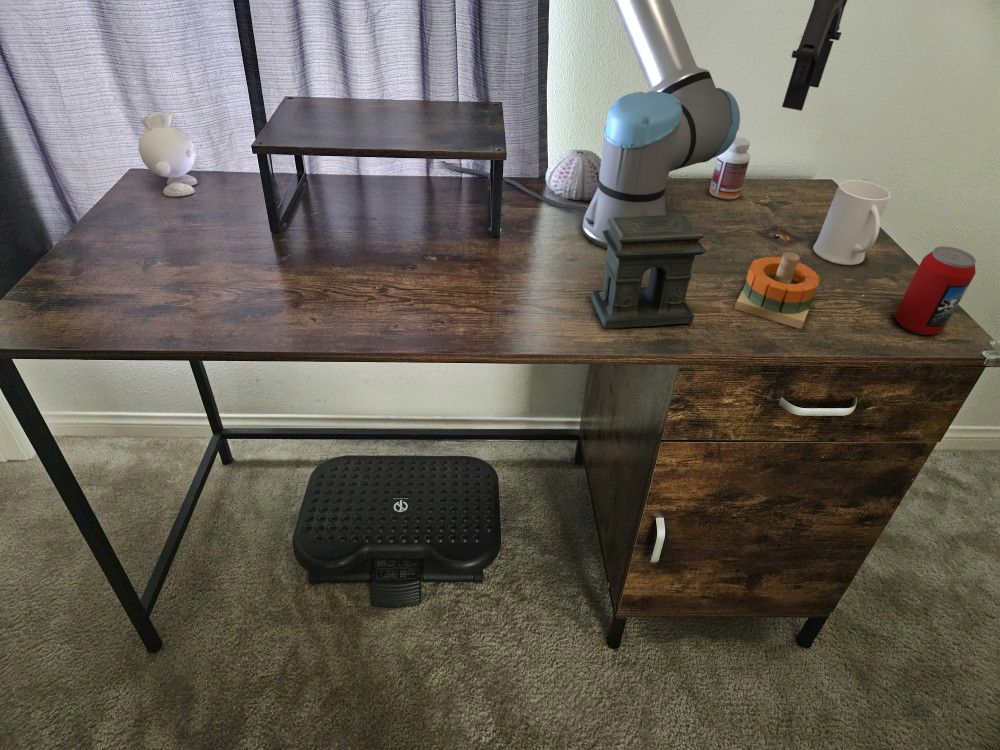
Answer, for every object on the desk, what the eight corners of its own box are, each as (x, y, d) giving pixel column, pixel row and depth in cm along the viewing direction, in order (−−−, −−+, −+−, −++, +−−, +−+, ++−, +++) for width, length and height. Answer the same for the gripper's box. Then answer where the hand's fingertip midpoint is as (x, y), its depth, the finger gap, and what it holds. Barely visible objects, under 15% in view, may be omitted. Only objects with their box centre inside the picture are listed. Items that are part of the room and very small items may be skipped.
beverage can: (939, 343, 95) (981, 272, 87) (889, 328, 98) (925, 258, 90) (942, 322, 100) (982, 252, 92) (895, 307, 102) (930, 239, 94)
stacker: (734, 309, 100) (749, 260, 95) (749, 280, 107) (765, 234, 102) (801, 329, 97) (820, 280, 91) (812, 298, 103) (831, 251, 98)
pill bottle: (745, 194, 134) (760, 141, 127) (729, 203, 130) (744, 148, 123) (718, 185, 137) (732, 132, 130) (702, 193, 133) (715, 139, 126)
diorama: (781, 244, 118) (785, 233, 117) (765, 236, 120) (768, 225, 119) (792, 240, 119) (796, 230, 118) (776, 232, 122) (779, 222, 120)
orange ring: (739, 289, 98) (743, 278, 97) (755, 261, 105) (758, 250, 104) (808, 309, 94) (812, 298, 93) (819, 279, 101) (824, 268, 100)
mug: (879, 276, 110) (910, 210, 102) (829, 274, 110) (856, 208, 102) (852, 242, 119) (879, 180, 111) (806, 240, 119) (829, 177, 111)
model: (671, 293, 103) (692, 205, 94) (693, 326, 96) (718, 234, 87) (588, 298, 101) (600, 209, 92) (604, 332, 94) (620, 239, 85)
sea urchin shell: (609, 180, 137) (614, 142, 132) (609, 207, 127) (616, 168, 122) (546, 175, 138) (549, 137, 133) (542, 202, 128) (545, 162, 122)
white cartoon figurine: (200, 206, 121) (178, 126, 112) (145, 209, 119) (118, 128, 110) (209, 174, 132) (190, 98, 123) (159, 176, 131) (135, 100, 121)
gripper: (876, -66, 73) (812, 124, 87) (895, -80, 90) (839, 81, 104) (807, -72, 76) (756, 113, 90) (839, -84, 93) (791, 73, 107)
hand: (800, 96), depth 97 cm, fingers open, 13 cm apart
